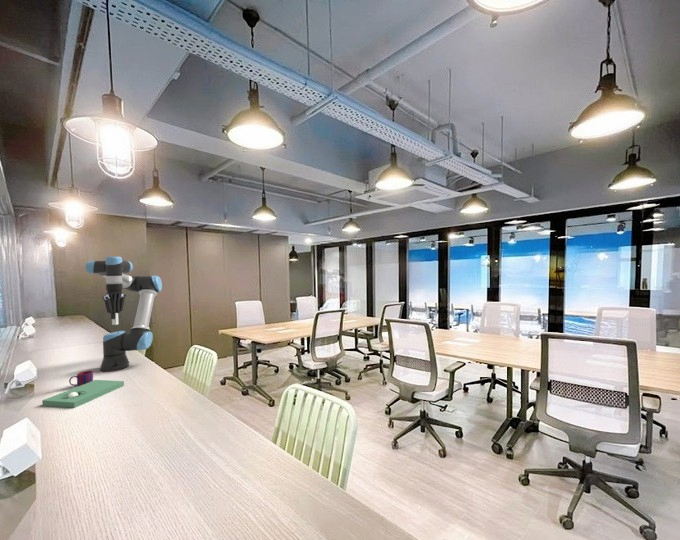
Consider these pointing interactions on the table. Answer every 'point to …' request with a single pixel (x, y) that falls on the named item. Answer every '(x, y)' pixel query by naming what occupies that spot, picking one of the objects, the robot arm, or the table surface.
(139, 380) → the table surface
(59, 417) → the table surface
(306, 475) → the table surface
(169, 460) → the table surface
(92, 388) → the green
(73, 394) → the ball
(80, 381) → the mug
